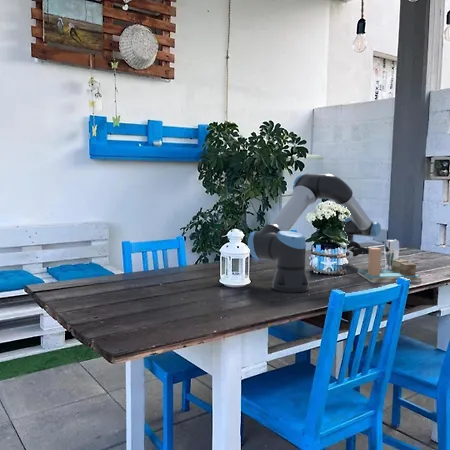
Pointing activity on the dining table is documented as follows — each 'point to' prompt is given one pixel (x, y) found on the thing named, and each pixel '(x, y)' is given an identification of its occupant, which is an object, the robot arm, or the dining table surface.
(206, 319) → the dining table surface
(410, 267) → the walnut block
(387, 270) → the lane board
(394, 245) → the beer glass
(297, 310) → the dining table surface
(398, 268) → the oak block
